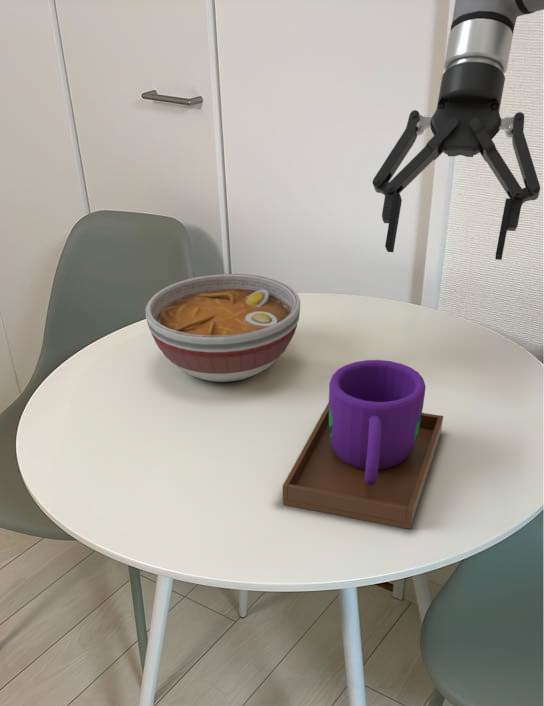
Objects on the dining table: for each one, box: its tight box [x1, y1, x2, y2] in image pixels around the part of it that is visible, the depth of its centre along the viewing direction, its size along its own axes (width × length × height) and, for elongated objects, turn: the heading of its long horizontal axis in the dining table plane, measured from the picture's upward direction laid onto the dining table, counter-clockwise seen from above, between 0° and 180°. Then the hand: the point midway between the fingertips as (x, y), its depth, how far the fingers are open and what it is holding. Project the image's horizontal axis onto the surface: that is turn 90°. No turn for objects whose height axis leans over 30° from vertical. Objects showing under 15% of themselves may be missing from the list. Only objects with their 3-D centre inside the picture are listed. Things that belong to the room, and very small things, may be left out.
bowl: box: [145, 273, 301, 383], centre depth 114 cm, size 23×23×10 cm
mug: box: [328, 359, 427, 485], centre depth 91 cm, size 17×11×10 cm, turn 171°
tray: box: [282, 402, 444, 530], centre depth 94 cm, size 15×21×3 cm
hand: (442, 253), depth 95 cm, fingers open, 13 cm apart
